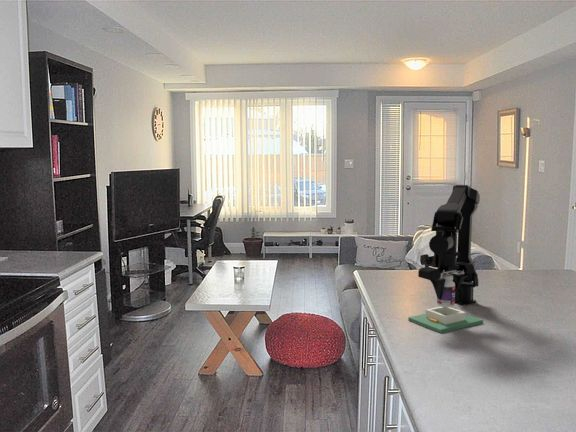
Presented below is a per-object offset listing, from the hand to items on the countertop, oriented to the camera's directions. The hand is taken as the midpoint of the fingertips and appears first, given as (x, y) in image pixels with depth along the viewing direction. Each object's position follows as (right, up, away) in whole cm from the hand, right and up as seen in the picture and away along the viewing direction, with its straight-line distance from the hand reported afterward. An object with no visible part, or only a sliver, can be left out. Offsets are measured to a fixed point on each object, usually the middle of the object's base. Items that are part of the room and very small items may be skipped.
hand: (445, 297), depth 171 cm
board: (0, -8, +1) cm, 8 cm away
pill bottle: (0, -3, 0) cm, 3 cm away
